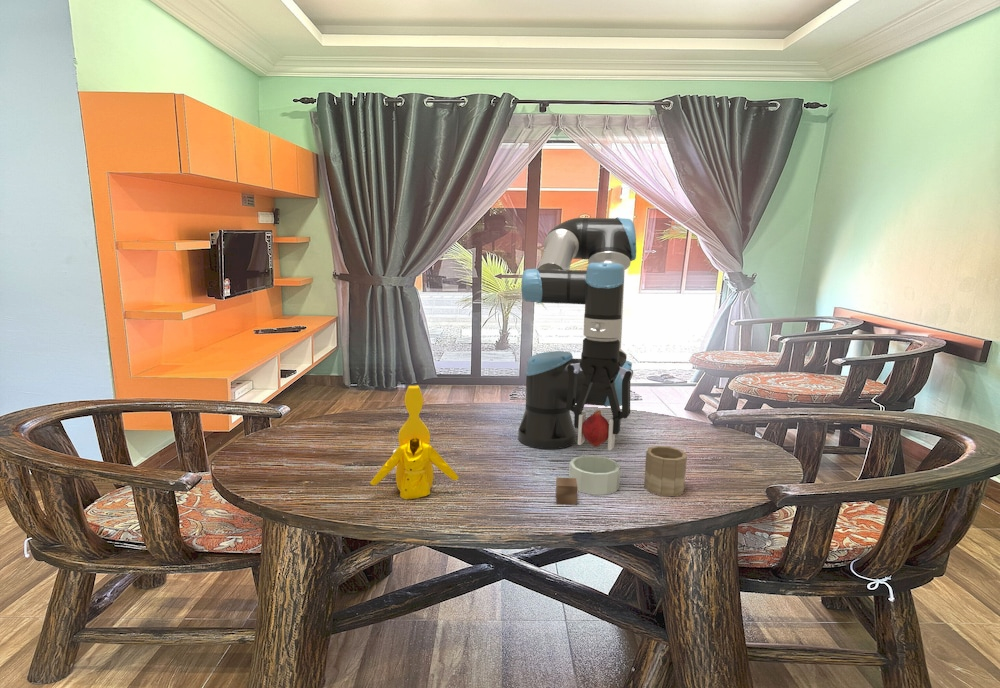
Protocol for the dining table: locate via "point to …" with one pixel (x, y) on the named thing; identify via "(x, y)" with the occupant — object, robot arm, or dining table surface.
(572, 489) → the walnut block
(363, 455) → the dining table surface
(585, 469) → the bowl
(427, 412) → the dining table surface
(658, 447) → the canister
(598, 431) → the onion
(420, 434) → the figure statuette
